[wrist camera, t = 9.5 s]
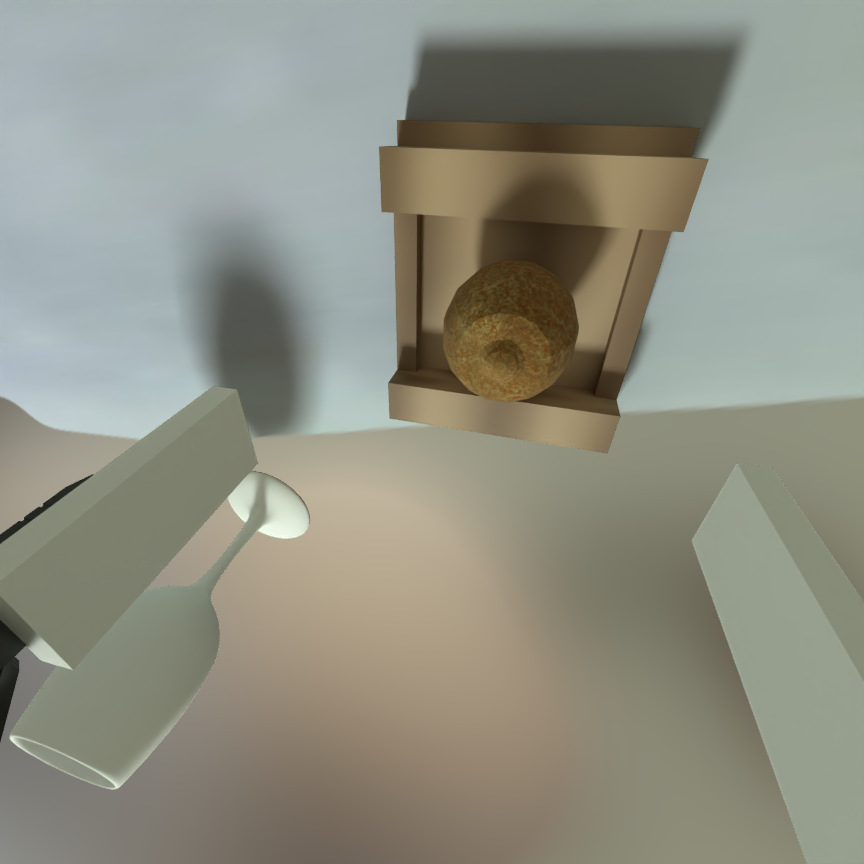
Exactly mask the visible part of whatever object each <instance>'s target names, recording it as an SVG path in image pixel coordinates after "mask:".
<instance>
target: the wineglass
mask: <svg viewBox="0 0 864 864" xmlns="http://www.w3.org/2000/svg"><path fill="white" fill-rule="evenodd" d="M228 500H229V503H230V505H231V506H232V508H233V510H234V511H235V512H236V514H237V515H238V516H239V517H240V518H241V519H242V520H243V521H244V522H245V523H246V524H245V525H244V527H243V528H242V530H241V531H240V532H239V534H238V535H237V537H236V538H235V539H234V541H233V542H232V543H231V545H230V546H229V547H228V549H227V550H226V551H225V552H224V554H223V555H222V556H221V557H220V558H219V560H218V561H217V562H216V563H215V564H214V566H213V567H212V568H211V569H210V570H209V571H208V572H207V573H206V574H205V575H204V576H203V577H202V578H201V579H200V580H199V581H197V582H196V583H194V584H193V585H190V586H168V587H160V588H155V589H151V590H147V591H144V592H143V593H142V594H141V595H140V596H139V597H138V598H137V599H136V600H135V602H134V603H133V604H132V605H131V606H130V607H129V608H128V609H127V611H126V612H125V613H124V614H123V615H122V616H121V617H120V618H119V619H118V621H117V622H116V623H115V624H114V625H113V626H112V627H111V628H110V630H109V631H108V632H107V633H106V634H105V635H104V636H103V637H102V639H101V640H100V641H99V642H98V643H97V644H96V645H95V646H94V647H93V649H92V650H91V651H90V652H89V653H88V654H87V655H86V656H85V658H84V659H83V660H82V661H81V662H80V663H79V664H78V665H77V667H76V668H75V669H74V670H71V669H68V668H64V667H61V666H57V667H56V668H55V670H54V671H53V672H52V674H51V675H50V676H49V678H48V679H47V680H46V682H45V683H44V684H43V686H42V687H41V688H40V690H39V691H38V693H37V694H36V696H35V697H34V698H33V700H32V701H31V703H30V704H29V706H28V707H27V709H26V710H25V712H24V713H23V715H22V716H21V718H20V719H19V721H18V722H17V724H16V725H15V727H14V728H13V730H12V732H11V734H10V739H11V740H12V742H13V743H14V744H16V745H17V746H18V747H20V748H22V749H23V750H24V751H26V752H27V753H29V754H31V755H32V756H34V757H36V758H38V759H39V760H41V761H43V762H45V763H47V764H49V765H51V766H53V767H55V768H57V769H59V770H61V771H63V772H66V773H68V774H70V775H72V776H74V777H77V778H79V779H81V780H84V781H86V782H89V783H92V784H95V785H97V786H101V787H104V788H108V789H117V788H119V787H120V786H121V785H122V784H123V783H124V782H125V781H126V780H127V779H128V778H129V777H130V776H131V775H132V774H133V772H134V771H135V770H136V769H137V768H138V767H139V766H140V765H141V764H142V763H143V762H144V761H145V759H146V758H147V757H148V756H149V755H150V754H151V753H152V752H153V750H154V749H155V748H156V747H157V746H158V745H159V743H160V742H161V741H162V740H163V739H164V738H165V736H166V735H167V734H168V733H169V731H170V730H171V729H172V728H173V726H174V725H175V724H176V723H177V721H178V720H179V719H180V717H181V716H182V715H183V713H184V712H185V710H186V709H187V707H188V706H189V705H190V703H191V702H192V700H193V699H194V697H195V695H196V694H197V693H198V691H199V689H200V688H201V686H202V685H203V683H204V681H205V679H206V677H207V676H208V674H209V672H210V670H211V668H212V666H213V664H214V662H215V659H216V656H217V652H218V648H219V641H220V630H219V622H218V618H217V614H216V612H215V609H214V607H213V605H212V602H211V593H212V591H213V589H214V587H215V585H216V583H217V582H218V580H219V578H220V577H221V575H222V574H223V572H224V571H225V570H226V568H227V567H228V566H229V564H230V563H231V561H232V560H233V559H234V558H235V556H236V555H237V554H238V553H239V552H240V550H241V549H242V548H243V547H244V545H245V544H246V543H247V542H248V541H249V540H250V539H251V537H252V536H253V535H254V534H255V533H256V532H257V531H259V532H261V533H264V534H266V535H269V536H272V537H277V538H294V537H298V536H300V535H302V534H304V533H305V532H306V531H307V529H308V527H309V524H310V516H309V512H308V509H307V507H306V505H305V503H304V501H303V500H302V499H301V497H300V496H299V495H298V494H297V493H296V492H295V491H294V490H293V489H292V488H291V487H289V486H288V485H287V484H285V483H284V482H282V481H281V480H279V479H277V478H275V477H273V476H270V475H268V474H265V473H261V472H256V471H251V472H250V473H249V474H248V475H247V476H246V477H245V478H244V479H243V481H242V482H241V483H240V484H239V485H238V486H237V487H236V488H235V489H234V491H233V492H232V493H231V494H230V495H229V496H228Z"/></svg>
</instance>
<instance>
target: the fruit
mask: <svg viewBox="0 0 864 864" xmlns="http://www.w3.org/2000/svg"><path fill="white" fill-rule="evenodd" d="M578 331H579V324H578V318H577V313H576V308H575V302H574V299H573V297H572V295H571V294H570V292H569V291H568V290H567V288H566V287H565V285H564V284H563V283H562V281H561V280H560V279H559V277H558V276H557V275H556V274H554V273H553V272H551V271H549V270H547V269H546V268H544V267H542V266H540V265H538V264H537V263H535V262H530V261H519V260H508V259H506V260H503V261H500V262H497V263H494V264H491V265H488V266H485V267H482V268H481V269H479V270H478V271H477V272H476V273H475V274H474V275H472V276H471V277H470V278H469V279H468V280H467V281H466V282H464V283H463V284H462V285H461V286H460V287H459V288H458V289H457V291H456V293H455V295H454V297H453V299H452V301H451V303H450V305H449V307H448V309H447V311H446V314H445V317H444V326H443V349H444V352H445V355H446V357H447V360H448V363H449V366H450V368H451V371H452V372H453V373H454V374H455V375H456V377H457V378H458V379H459V380H460V381H461V382H462V383H463V384H464V386H465V387H466V388H467V389H468V390H470V391H471V392H473V393H475V394H477V395H479V396H481V397H483V398H485V399H486V400H493V401H499V402H506V403H508V402H514V401H519V400H524V399H529V398H531V397H533V396H535V395H537V394H538V393H540V392H542V391H543V390H545V389H547V388H548V387H550V386H552V385H553V384H554V383H555V381H556V380H557V379H558V377H559V376H560V375H561V373H562V372H563V371H564V369H565V368H566V367H567V366H568V364H569V363H570V361H571V360H572V357H573V353H574V349H575V345H576V341H577V337H578Z"/></svg>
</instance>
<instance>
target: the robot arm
mask: <svg viewBox="0 0 864 864" xmlns="http://www.w3.org/2000/svg"><path fill="white" fill-rule="evenodd" d="M257 464H258V462H257V458H256V455H255V451H254V448H253V444H252V441H251V437H250V433H249V430H248V426H247V423H246V419H245V416H244V412H243V409H242V405H241V401H240V398H239V394H238V391H237V389H230V388H223V387H217V386H213V387H212V388H210V389H209V390H208V391H206V392H205V393H203V394H202V395H201V396H199V397H198V398H197V399H195V400H194V401H193V402H191V403H190V404H189V405H187V406H186V407H185V408H183V409H182V410H181V411H179V412H178V413H176V414H175V415H174V416H172V417H171V418H170V419H168V420H167V421H166V422H164V423H163V424H162V425H160V426H159V427H158V428H156V429H155V430H154V431H152V432H151V433H149V434H148V435H147V436H145V437H144V438H143V439H141V440H140V441H139V442H137V443H136V444H135V445H133V446H132V447H131V448H129V449H128V450H127V451H125V452H124V453H122V454H121V455H120V456H118V457H117V458H116V459H114V460H113V461H112V462H111V463H109V464H108V465H106V466H105V467H104V468H102V469H101V470H100V471H98V472H97V473H96V474H94V475H90V476H88V477H86V478H84V479H82V480H80V481H78V482H76V483H74V484H72V485H69V486H67V487H66V488H64V489H63V490H61V491H60V492H59V493H57V494H56V495H55V496H53V497H52V498H50V499H49V500H48V501H46V502H45V503H43V506H42V507H38V508H36V509H35V510H34V511H32V512H31V513H29V514H28V515H27V516H25V517H24V520H23V521H18V522H17V523H16V524H14V525H13V526H12V527H10V528H9V529H7V530H6V531H5V532H3V533H2V534H0V741H1V737H2V734H3V730H4V726H5V722H6V718H7V714H8V711H9V707H10V704H11V700H12V696H13V692H14V688H15V685H16V681H17V677H18V673H19V660H18V659H17V658H15V656H16V655H17V654H18V653H19V652H20V651H21V650H22V649H23V648H24V647H25V646H27V647H28V648H29V649H30V650H31V651H32V652H33V653H34V654H35V655H36V656H37V657H38V658H39V659H40V660H41V661H44V662H47V663H51V664H54V665H57V666H61V667H64V668H68V669H71V670H74V669H75V668H76V667H77V665H78V664H79V663H80V662H81V661H82V660H83V659H84V658H85V656H86V655H87V654H88V653H89V652H90V651H91V650H92V649H93V647H94V646H95V645H96V644H97V643H98V642H99V641H100V640H101V639H102V637H103V636H104V635H105V634H106V633H107V632H108V631H109V630H110V628H111V627H112V626H113V625H114V624H115V623H116V622H117V621H118V619H119V618H120V617H121V616H122V615H123V614H124V613H125V612H126V611H127V609H128V608H129V607H130V606H131V605H132V604H133V603H134V602H135V600H136V599H137V598H138V597H139V596H140V595H141V594H142V593H143V591H144V590H145V589H146V588H147V587H148V586H149V585H150V584H151V582H152V581H153V580H154V579H155V578H156V577H157V576H158V574H159V573H160V572H161V571H162V570H163V569H164V568H165V567H166V566H167V565H168V563H169V562H170V561H171V560H172V559H173V558H174V557H175V555H176V554H177V553H178V552H179V551H180V550H181V549H182V548H183V547H184V546H185V544H186V543H187V542H188V541H189V540H190V539H191V537H193V535H194V534H195V533H196V532H197V531H198V530H199V529H200V528H201V526H202V525H203V524H204V523H205V522H206V521H207V520H208V519H209V518H210V516H211V515H212V514H213V513H214V512H215V511H216V510H217V509H218V507H219V506H220V505H221V504H222V503H223V502H224V501H225V499H226V498H227V497H228V496H229V495H230V494H231V493H232V492H233V491H234V489H235V488H236V487H237V486H238V485H239V484H240V483H241V482H242V481H243V479H244V478H245V477H246V476H247V475H248V474H249V473H250V472H251V470H252V469H253V468H254V467H255V466H256V465H257ZM692 543H693V546H694V548H695V552H696V554H697V557H698V560H699V563H700V566H701V568H702V571H703V574H704V577H705V580H706V582H707V585H708V588H709V591H710V594H711V596H712V599H713V602H714V605H715V608H716V610H717V613H718V616H719V619H720V622H721V624H722V627H723V630H724V633H725V636H726V638H727V641H728V644H729V647H730V650H731V652H732V655H733V658H734V661H735V664H736V666H737V669H738V672H739V675H740V678H741V681H742V683H743V686H744V689H745V692H746V695H747V697H748V700H749V703H750V706H751V708H752V711H753V714H754V717H755V720H756V722H757V725H758V728H759V731H760V734H761V737H762V739H763V742H764V745H765V747H766V751H767V753H768V756H769V759H770V762H771V765H772V767H773V770H774V773H775V776H776V778H777V781H778V784H779V787H780V790H781V792H782V795H783V798H784V801H785V804H786V807H787V809H788V812H789V815H790V818H791V821H792V823H793V826H794V829H795V832H796V835H797V837H798V840H799V843H800V846H801V848H802V851H803V854H804V857H805V860H806V863H807V864H864V601H863V600H862V598H861V597H860V596H859V594H858V593H857V591H856V590H855V588H854V587H853V585H852V584H851V582H850V581H849V579H848V578H847V576H846V575H845V573H844V572H843V571H842V569H841V568H840V566H839V565H838V563H837V562H836V560H835V559H834V557H833V556H832V554H831V553H830V551H829V550H828V549H827V547H826V546H825V544H824V543H823V541H822V540H821V538H820V537H819V535H818V534H817V533H816V531H815V529H814V528H813V526H812V525H811V524H810V522H809V521H808V519H807V518H806V516H805V515H804V513H803V512H802V510H801V509H800V508H799V506H798V504H797V503H796V502H795V501H794V499H793V497H792V496H791V494H790V493H789V491H788V490H787V488H786V487H785V485H784V484H783V483H782V481H781V480H780V478H779V477H778V475H777V474H776V472H775V471H774V469H773V468H766V467H760V466H753V465H745V464H739V463H737V464H736V465H735V467H734V469H733V471H732V472H731V474H730V476H729V478H728V479H727V481H726V483H725V484H724V486H723V488H722V489H721V492H720V493H719V495H718V496H717V498H716V500H715V502H714V503H713V505H712V507H711V508H710V510H709V512H708V513H707V515H706V517H705V519H704V520H703V522H702V524H701V525H700V527H699V529H698V531H697V532H696V534H695V536H694V537H693V539H692Z"/></svg>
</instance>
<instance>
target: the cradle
mask: <svg viewBox="0 0 864 864" xmlns="http://www.w3.org/2000/svg"><path fill="white" fill-rule="evenodd" d="M699 130H700V128H689V127H650V126H610V125H571V124H531V123H492V122H453V121H413V120H397V141H398V146H384V147H379V154H380V181H381V207H382V212H393V213H394V239H395V282H396V324H397V367H398V370H397V371H396V373H395V374H394V375H393V377H392V378H391V380H390V381H389V383H388V389H389V415H390V419H397V420H403V421H409V422H415V423H421V424H428V425H434V426H441V427H446V428H453V429H459V430H466V431H471V432H478V433H484V434H490V435H497V436H502V437H509V438H515V439H521V440H528V441H534V442H540V443H546V444H552V445H558V446H565V447H571V448H577V449H583V450H590V451H596V452H602V453H608V451H609V448H610V445H611V442H612V439H613V436H614V433H615V431H616V428H617V424H618V422H619V419H620V413H619V409H618V404H617V397H618V394H619V391H620V388H621V384H622V381H623V378H624V375H625V372H626V369H627V366H628V363H629V360H630V357H631V354H632V351H633V348H634V345H635V342H636V339H637V336H638V333H639V329H640V326H641V323H642V320H643V317H644V314H645V311H646V308H647V305H648V302H649V299H650V296H651V293H652V290H653V287H654V284H655V281H656V278H657V275H658V271H659V268H660V265H661V262H662V259H663V256H664V253H665V250H666V247H667V244H668V241H669V238H670V235H671V232H672V231H675V232H684V229H685V226H686V223H687V220H688V218H689V215H690V212H691V209H692V206H693V203H694V200H695V197H696V194H697V191H698V188H699V185H700V183H701V180H702V177H703V174H704V171H705V168H706V165H707V162H708V159H704V158H695V157H691V155H692V152H693V149H694V145H695V142H696V139H697V136H698V133H699ZM506 259H508V260H519V261H530V262H535V263H537V264H538V265H540V266H542V267H544V268H546V269H547V270H549V271H551V272H553V273H554V274H556V275H557V276H558V277H559V279H560V280H561V281H562V283H563V284H564V285H565V287H566V288H567V290H568V291H569V292H570V294H571V295H572V297H573V299H574V302H575V308H576V313H577V318H578V324H579V331H578V337H577V341H576V345H575V349H574V353H573V357H572V360H571V361H570V363H569V364H568V366H567V367H566V368H565V369H564V371H563V372H562V373H561V375H560V376H559V377H558V379H557V380H556V381H555V383H554V384H553V385H552V386H550V387H548V388H547V389H545V390H543V391H542V392H540V393H538V394H537V395H535V396H533V397H531V398H529V399H524V400H519V401H514V402H508V403H506V402H499V401H493V400H486V399H485V398H483V397H481V396H479V395H477V394H475V393H473V392H471V391H470V390H468V389H467V388H466V387H465V386H464V384H463V383H462V382H461V381H460V380H459V379H458V378H457V377H456V375H455V374H454V373H453V372H452V371H451V368H450V366H449V363H448V360H447V357H446V355H445V352H444V349H443V326H444V317H445V314H446V311H447V309H448V307H449V305H450V303H451V301H452V299H453V297H454V295H455V293H456V291H457V289H458V288H459V287H460V286H461V285H462V284H463V283H464V282H466V281H467V280H468V279H469V278H470V277H471V276H472V275H474V274H475V273H476V272H477V271H478V270H479V269H481V268H482V267H485V266H488V265H491V264H494V263H497V262H500V261H503V260H506Z"/></svg>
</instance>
